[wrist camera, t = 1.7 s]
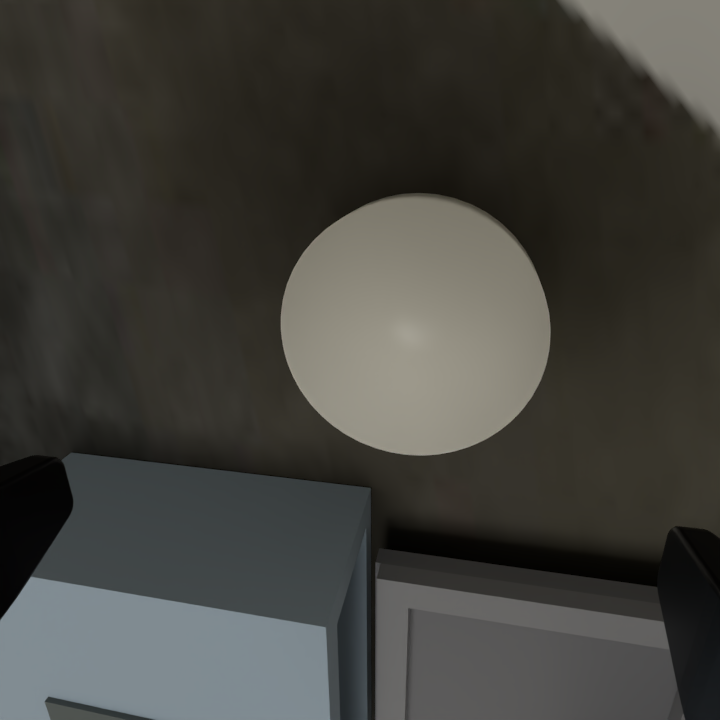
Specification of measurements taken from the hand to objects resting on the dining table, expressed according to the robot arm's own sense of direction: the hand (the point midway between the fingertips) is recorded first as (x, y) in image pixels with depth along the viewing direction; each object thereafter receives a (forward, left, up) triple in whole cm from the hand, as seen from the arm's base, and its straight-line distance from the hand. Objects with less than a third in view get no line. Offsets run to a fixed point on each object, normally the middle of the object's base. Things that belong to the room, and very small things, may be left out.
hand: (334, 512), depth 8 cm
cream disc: (0, 0, -9) cm, 9 cm away
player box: (+9, +16, -12) cm, 22 cm away
